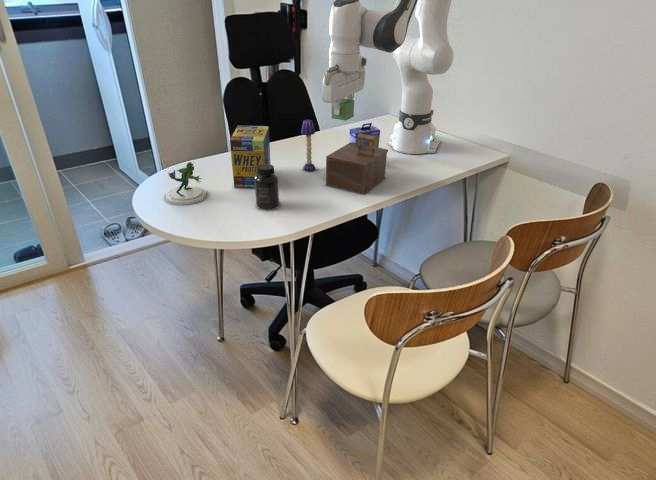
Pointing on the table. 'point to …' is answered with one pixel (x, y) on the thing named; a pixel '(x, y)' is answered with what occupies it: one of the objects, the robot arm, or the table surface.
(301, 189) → the table surface
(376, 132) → the ink cartridge box
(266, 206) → the supplement bottle
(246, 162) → the protein box
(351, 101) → the green toy block
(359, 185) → the chest
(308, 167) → the toy lamp
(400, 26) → the robot arm
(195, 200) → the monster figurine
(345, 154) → the chest lid
